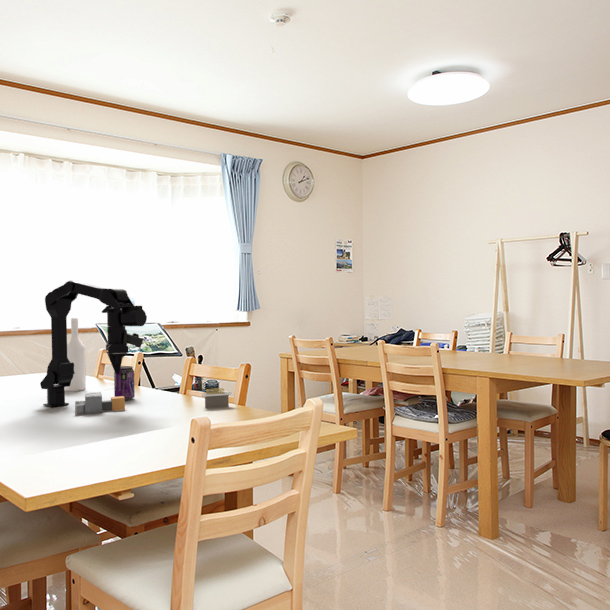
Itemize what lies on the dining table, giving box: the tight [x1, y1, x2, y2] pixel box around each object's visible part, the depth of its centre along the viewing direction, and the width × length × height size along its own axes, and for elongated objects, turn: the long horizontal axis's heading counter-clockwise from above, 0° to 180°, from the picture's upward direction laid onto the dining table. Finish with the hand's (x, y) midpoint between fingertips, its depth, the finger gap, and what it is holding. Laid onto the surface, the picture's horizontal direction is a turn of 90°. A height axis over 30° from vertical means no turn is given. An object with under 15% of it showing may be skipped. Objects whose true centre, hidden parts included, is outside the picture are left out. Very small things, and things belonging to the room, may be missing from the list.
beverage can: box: [113, 365, 136, 401], centre depth 215 cm, size 7×7×12 cm
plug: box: [79, 396, 126, 412], centre depth 192 cm, size 14×4×4 cm, turn 113°
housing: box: [74, 391, 103, 416], centre depth 190 cm, size 8×10×6 cm
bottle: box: [65, 317, 87, 392], centre depth 243 cm, size 8×8×30 cm
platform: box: [201, 387, 233, 409], centre depth 195 cm, size 12×18×7 cm, turn 111°
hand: (117, 373), depth 193 cm, fingers open, 4 cm apart
